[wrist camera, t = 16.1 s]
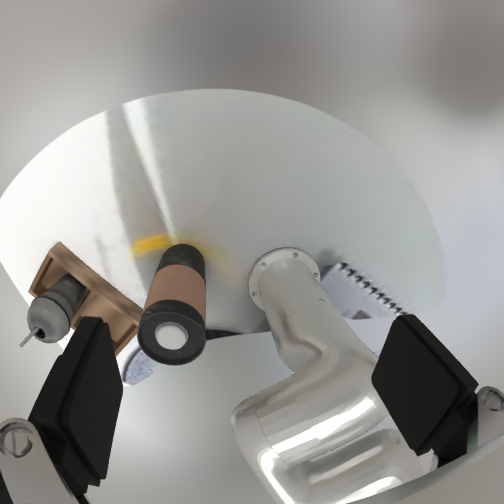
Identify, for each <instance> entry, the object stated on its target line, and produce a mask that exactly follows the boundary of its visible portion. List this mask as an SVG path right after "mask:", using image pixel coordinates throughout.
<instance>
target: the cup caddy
mask: <svg viewBox="0 0 504 504" xmlns="http://www.w3.org/2000/svg"><path fill="white" fill-rule="evenodd" d="M68 272H69V273H70V274H71V275H72V276H74V277H75V278H76V279H77V280H78V281H80V282H81V283H82V284H83V285H84V286H86V289H85V292H84V295H83V297H82V299H81V301H80V303H79V305H78V307H77V309H76V312H75V314H74V316H73V318H72V323H71V326H70V327H71V328H72V329H74V330H76V328H77V326H78V324H79V323H80V321H81V319H82V318H83V316H93V317H101V318H102V319H103V322H107V323H108V324H109V328H110V333H111V338H112V343H113V347H114V352H115V356H117V355H118V354H119V353H120V352H121V351H122V349H123V348H124V347H125V346H126V345H127V344H128V343H129V342H130V341H131V340H132V338H133V337H134V336H135V335H136V334H137V330H138V326H139V323H140V319H141V316H142V312H143V309H142V308H141V307H139V306H138V305H137V304H135V303H134V302H133V301H131V300H130V299H129V298H127V297H126V296H125V295H123V294H122V293H121V292H119V291H118V290H117V289H116V288H114V287H113V286H112V285H111V284H109V283H108V282H107V281H105V280H104V279H103V278H102V277H101V276H99V275H98V274H97V273H96V272H94V271H93V270H92V269H91V268H90V267H88V266H87V265H86V264H85V263H84V262H82V261H81V260H80V259H79V258H78V257H77V256H75V255H74V254H73V253H72V252H71V251H70V250H69V249H68V248H66V247H65V246H64V245H63V244H62V243H61V242H58V243H57V244H56V245H55V246H54V247H53V248H51V249H50V250H49V252H48V254H47V255H46V257H45V259H44V261H43V263H42V265H41V267H40V269H39V271H38V273H37V275H36V277H35V279H34V281H33V283H32V285H31V287H30V289H29V291H28V292H29V293H30V294H31V295H32V296H33V297H35V298H36V297H39V296H40V295H41V294H43V293H45V292H46V291H47V290H48V289H49V288H50V287H51V286H53V285H54V284H55V283H56V282H57V281H58V280H59V279H61V278H62V277H63V276H64V275H66V274H67V273H68Z"/></svg>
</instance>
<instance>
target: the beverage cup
mask: <svg viewBox="0 0 504 504" xmlns="http://www.w3.org/2000/svg"><path fill="white" fill-rule="evenodd" d="M85 289H86V286H84V285H83V284H82V283H81V282H80V281H78V280H77V279H76V278H75V277H74V276H72V275H71V274H70V273H69V272H68V273H67V274H66V275H64V276H63V277H62V278H61V279H59V280H58V281H57V282H56V283H55V284H54V285H53V286H51V287H50V288H49V289H48V290H47V291H46V292H45V293H43V294H41V295H40V296H39V297H36V298H35V299H34V300H33V301H32V303H31V306H30V308H29V310H28V317H27V322H28V326H29V329H30V331H31V333H30V334H29V335H28V336H27V337H26V338H25V339H24V340H23V341H22V343H21V344H20V347H23V346H24V345H25V344H26V343H27V341H28V340H29V339H30V338H31V337H32V336H33V335H34V336H35V337H36V338H37V339H38V340H40V341H42V342H44V343H55V342H57V341H59V340H61V339H62V338H64V336H65V335H67V334H68V332H69V331H70V326H71V323H72V318H73V316H74V314H75V312H76V309H77V307H78V305H79V303H80V301H81V299H82V297H83V295H84V292H85Z"/></svg>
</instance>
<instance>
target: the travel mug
mask: <svg viewBox="0 0 504 504" xmlns="http://www.w3.org/2000/svg"><path fill="white" fill-rule="evenodd" d="M205 323H206V283H205V266H204V260H203V257H202V255H201V254H200V252H199V251H198V250H197V249H195V248H194V247H192V246H190V245H186V244H179V245H175V246H172V247H171V248H169V249H168V250H167V251H166V252H165V253H164V255H163V257H162V259H161V261H160V264H159V266H158V268H157V271H156V273H155V275H154V278H153V280H152V283H151V286H150V290H149V293H148V296H147V299H146V302H145V306H144V309H143V312H142V316H141V319H140V323H139V326H138V330H137V339H138V343H139V345H140V347H141V349H142V350H143V352H144V353H145V354H146V355H147V356H149V357H150V358H151V359H153V360H155V361H157V362H159V363H162V364H166V365H183V364H187V363H190V362H192V361H193V360H195V359H196V358H197V357H198V356H199V355H200V354H201V353H202V351H203V349H204V347H205V344H206V337H205Z"/></svg>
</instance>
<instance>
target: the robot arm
mask: <svg viewBox="0 0 504 504" xmlns="http://www.w3.org/2000/svg"><path fill="white" fill-rule="evenodd" d="M294 253H295V254H294ZM263 262H264V264H261V263H263ZM314 273H315V274H314ZM248 287H249V293H250V296H251V298H252V300H253V302H254V303H255V304H256V306H257V307H259V308H260V309H261V310H263V311H265V313H266V316H267V319H268V323H269V326H270V329H271V332H272V335H273V338H274V341H275V344H276V347H277V350H278V353H279V356H280V358H281V359H282V360H283V362H284V363H285V364H286V365H287V366H288V367H289V368H290V369H291V370H292V371H294V372H296V373H295V374H293V375H291V377H289V378H287V379H285V380H283V381H281V382H279V383H277V384H275V385H273V386H271V387H269V388H267V389H265V390H263V391H261V392H259V393H257V394H255V395H253V396H251V397H249V398H247V399H245V400H244V401H242V402H241V403H239V404H238V405H237V406H236V407H235V409H234V410H233V413H232V415H231V429H232V433H233V436H234V438H235V441H236V443H237V445H238V447H239V449H240V451H241V453H242V454H243V456H244V457H245V459H246V461H247V462H248V464H249V465H250V466H251V468H252V469H253V471H254V472H255V474H256V475H257V477H258V478H259V480H260V481H261V482H262V484H263V485H264V487H265V488H266V490H267V491H268V492H269V494H270V495H271V496H272V497H273V499H274V500H275V502H276V503H277V504H504V394H503V393H502V392H501V391H500V390H498V389H497V388H494V387H490V386H486V387H482V388H481V389H480V390H479V392H478V393H477V394H475V392H474V391H475V389H476V388H477V386H478V385H479V384H478V383H477V381H476V380H475V379H474V378H473V377H472V376H471V375H470V373H469V372H468V371H467V370H466V369H465V368H464V367H463V365H462V364H461V363H460V362H459V361H458V360H457V359H456V358H455V357H454V356H453V355H452V354H451V352H450V351H449V350H448V349H447V348H446V347H445V346H444V345H443V344H442V343H441V342H440V341H439V340H438V339H437V338H436V336H435V335H434V334H433V333H432V332H431V331H430V330H429V329H428V328H427V327H426V326H425V325H424V324H423V323H422V322H421V321H420V320H419V319H418V318H417V317H416V316H415V315H413V314H407V315H399V316H398V317H397V318H396V320H394V321H393V323H392V325H391V328H390V331H389V333H388V336H387V339H386V341H385V344H384V346H383V349H382V351H381V354H380V356H379V357H378V356H377V355H376V354H374V353H373V352H372V351H371V350H370V349H369V348H368V347H367V346H366V345H365V344H364V343H363V342H362V341H361V340H360V339H359V338H358V337H357V335H356V334H355V333H354V332H353V331H352V329H351V328H350V326H349V325H348V324H347V322H346V321H345V320H344V318H343V317H342V315H341V314H340V312H339V311H338V309H337V308H336V307H335V305H334V304H333V302H332V301H331V299H330V298H329V297H328V295H327V294H326V292H325V291H324V289H323V288H322V287H321V285H320V272H319V268H318V266H317V264H316V262H315V261H314V260H313V259H312V258H311V257H310V256H309V255H308V254H307V253H305V252H304V251H301V250H298V249H294V248H282V249H277V250H274V251H272V252H269V253H268V254H266V255H264V256H263V257H262V258H261V259H260V260H259V261H258V262H257V263H256V264H255V265H254V267H253V269H252V271H251V273H250V276H249V281H248ZM253 292H254V293H253ZM122 395H123V384H122V380H121V376H120V372H119V368H118V364H117V360H116V356H115V352H114V347H113V343H112V338H111V333H110V328H109V324H108V323H107V322H103V319H102V318H101V317H93V316H83V318H82V319H81V321H80V323H79V324H78V326H77V328H76V330H75V332H74V333H73V335H72V337H71V339H70V341H69V343H68V344H67V346H66V348H65V350H64V352H63V354H62V355H60V356H58V358H57V359H56V361H55V363H54V365H53V367H52V369H51V371H50V373H49V375H48V377H47V379H46V381H45V383H44V385H43V387H42V389H41V391H40V393H39V396H38V398H37V400H36V402H35V404H34V406H33V409H32V411H31V413H30V416H29V418H28V420H25V419H22V418H10V419H7V420H5V421H3V422H2V423H1V424H0V504H92V503H91V502H90V501H89V499H88V497H87V496H86V494H85V493H86V492H87V488H88V485H93V486H98V487H99V486H100V480H101V479H105V478H106V475H107V470H108V464H109V458H110V452H111V447H112V441H113V436H114V431H115V427H116V421H117V417H118V412H119V408H120V404H121V399H122ZM389 414H390V415H391V417H392V419H393V420H394V422H395V423H396V425H397V427H398V429H399V431H398V430H396V429H392V428H388V429H383V430H380V431H377V432H374V433H372V434H370V435H368V436H366V437H364V438H362V439H360V440H358V441H356V442H354V443H352V444H350V445H348V446H346V447H344V448H342V449H340V450H338V451H336V452H334V453H332V454H330V455H328V456H325V457H323V458H321V459H319V460H316V461H309V460H310V459H313V458H315V457H317V456H319V455H322V454H324V453H326V452H328V451H331V450H334V449H335V448H338V447H340V446H342V445H344V444H346V443H348V442H350V441H351V440H353V439H355V438H357V437H359V436H361V435H363V434H364V433H366V432H368V431H369V430H371V429H373V428H374V427H375V426H377V425H378V424H379V423H380V422H382V421H383V420H384V419H385V418H386V417H387V416H388V415H389ZM431 448H432V449H433V451H434V453H433V458H432V463H431V468H430V472H429V473H428V474H427V473H426V471H425V469H424V467H423V465H422V463H421V461H420V459H419V457H418V456H420V455H422V454H425V453H427V452H429V451H430V449H431Z"/></svg>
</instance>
